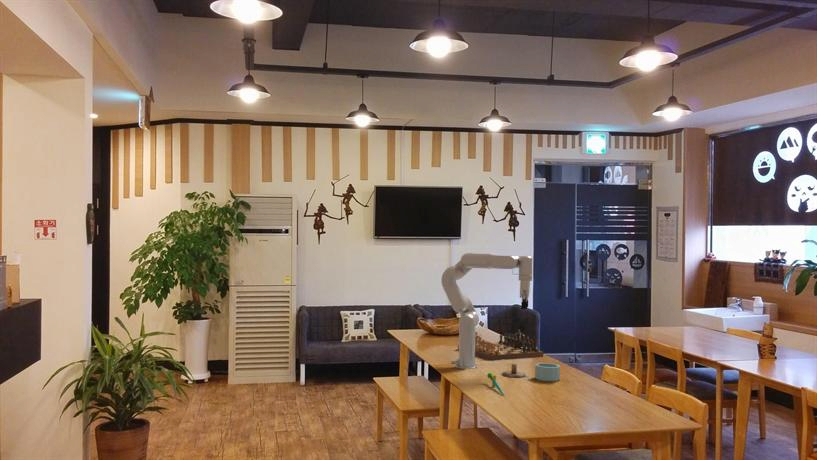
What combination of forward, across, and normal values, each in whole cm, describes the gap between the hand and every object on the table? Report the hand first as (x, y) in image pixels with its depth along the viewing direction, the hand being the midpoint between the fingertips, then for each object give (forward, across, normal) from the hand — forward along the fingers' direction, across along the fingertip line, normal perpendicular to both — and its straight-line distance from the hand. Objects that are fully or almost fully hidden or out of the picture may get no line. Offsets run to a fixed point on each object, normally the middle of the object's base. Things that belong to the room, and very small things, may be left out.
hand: (524, 308), depth 385 cm
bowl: (+37, +15, +14) cm, 42 cm away
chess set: (+37, -58, -19) cm, 71 cm away
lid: (+36, +12, -4) cm, 38 cm away
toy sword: (+37, +46, -11) cm, 60 cm away
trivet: (+36, +12, -4) cm, 39 cm away
